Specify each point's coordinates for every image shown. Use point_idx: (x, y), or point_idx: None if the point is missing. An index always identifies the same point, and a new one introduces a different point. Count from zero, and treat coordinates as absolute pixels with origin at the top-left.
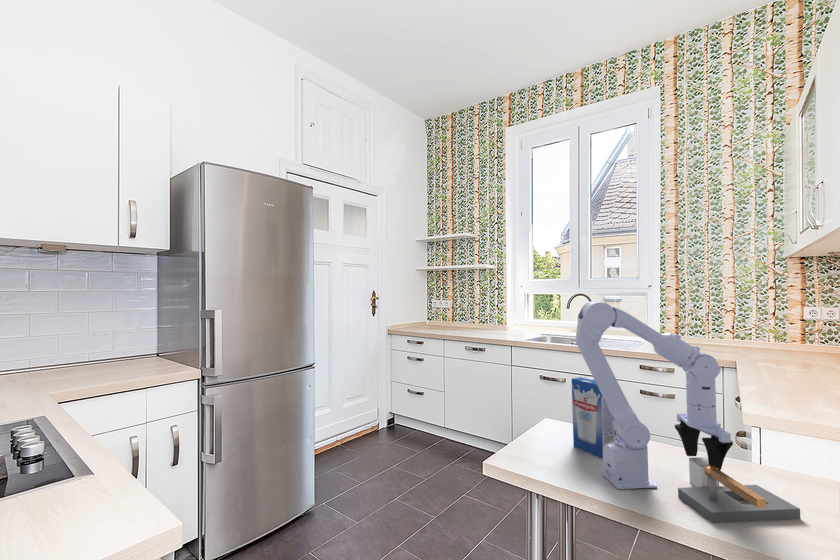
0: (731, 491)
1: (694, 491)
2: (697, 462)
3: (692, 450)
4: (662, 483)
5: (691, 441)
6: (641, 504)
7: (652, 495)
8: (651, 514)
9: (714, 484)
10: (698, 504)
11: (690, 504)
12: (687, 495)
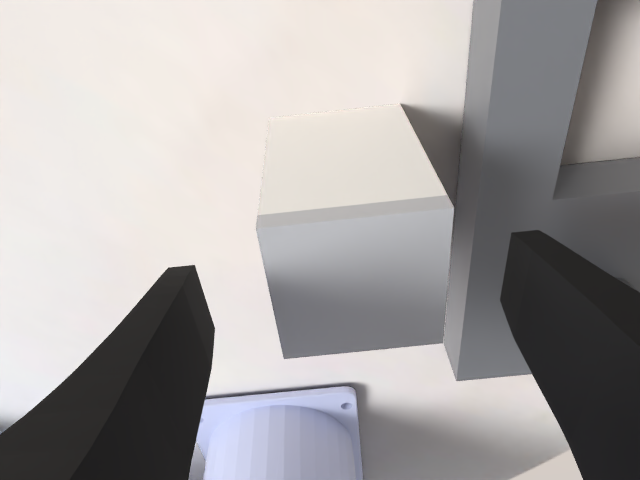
0: (566, 132)
1: (511, 336)
2: (386, 343)
3: (192, 338)
4: None
5: (163, 433)
6: (475, 457)
7: (414, 414)
8: (544, 452)
9: None
10: None
11: None
12: (528, 369)
